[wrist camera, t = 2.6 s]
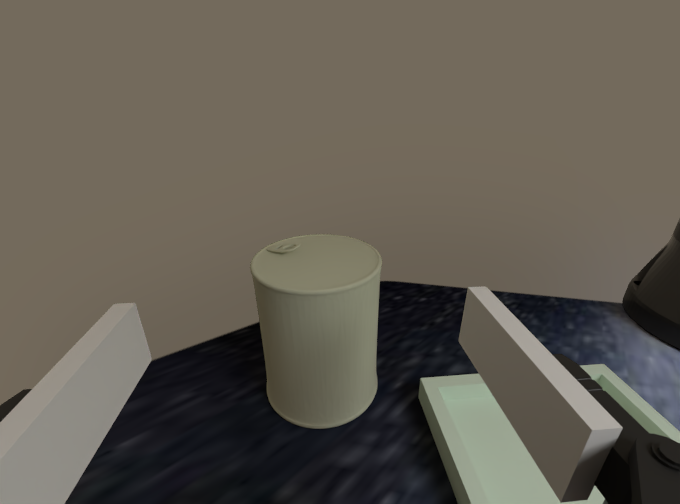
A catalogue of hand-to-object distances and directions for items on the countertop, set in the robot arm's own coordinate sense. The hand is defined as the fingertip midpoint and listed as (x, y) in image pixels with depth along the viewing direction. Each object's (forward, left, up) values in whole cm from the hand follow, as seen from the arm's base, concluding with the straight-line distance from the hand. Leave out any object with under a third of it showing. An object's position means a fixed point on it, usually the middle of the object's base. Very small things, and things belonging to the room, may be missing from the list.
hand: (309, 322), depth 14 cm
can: (-1, -10, -14) cm, 17 cm away
